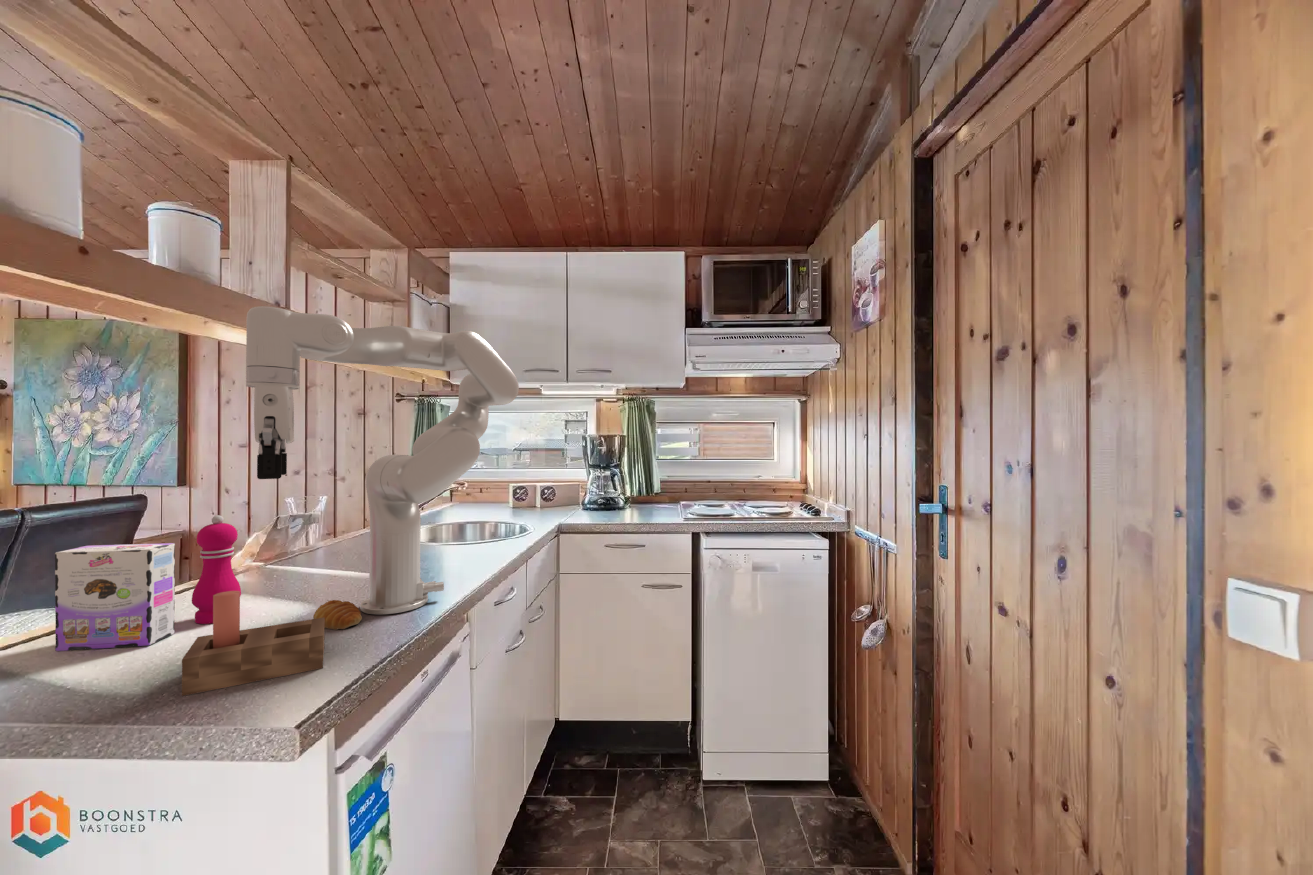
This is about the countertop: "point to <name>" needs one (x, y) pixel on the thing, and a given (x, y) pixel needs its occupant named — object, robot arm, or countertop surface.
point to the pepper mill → (214, 567)
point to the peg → (226, 619)
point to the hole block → (254, 656)
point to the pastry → (338, 614)
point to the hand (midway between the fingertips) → (272, 476)
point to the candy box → (114, 595)
